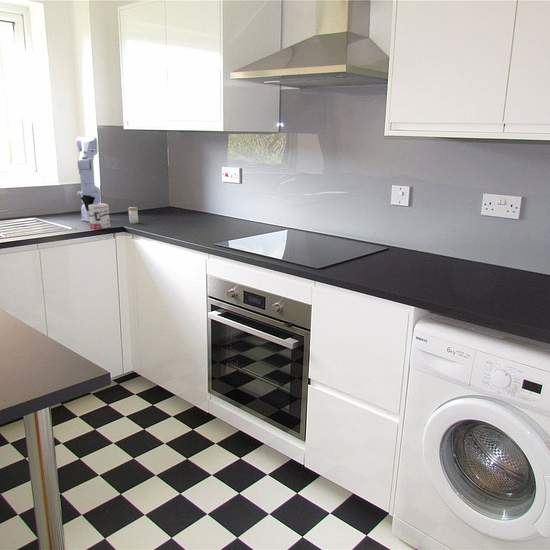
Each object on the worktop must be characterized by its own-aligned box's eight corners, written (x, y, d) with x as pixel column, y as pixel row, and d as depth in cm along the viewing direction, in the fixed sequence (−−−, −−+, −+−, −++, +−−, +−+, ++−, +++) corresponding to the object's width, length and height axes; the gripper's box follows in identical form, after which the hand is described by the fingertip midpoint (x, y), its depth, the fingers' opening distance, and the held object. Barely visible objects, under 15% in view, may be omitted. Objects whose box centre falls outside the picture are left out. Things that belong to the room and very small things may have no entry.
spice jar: (127, 222, 279) (126, 207, 277) (134, 221, 283) (133, 206, 281) (133, 223, 276) (132, 208, 274) (140, 222, 280) (139, 207, 278)
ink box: (94, 229, 260) (92, 205, 257) (90, 228, 264) (87, 204, 260) (110, 227, 266) (108, 204, 263) (106, 226, 269) (104, 203, 266)
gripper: (70, 183, 264) (73, 210, 267) (89, 185, 256) (91, 212, 259) (82, 182, 269) (85, 208, 273) (101, 183, 262) (103, 211, 265)
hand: (89, 210), depth 267 cm, fingers closed
